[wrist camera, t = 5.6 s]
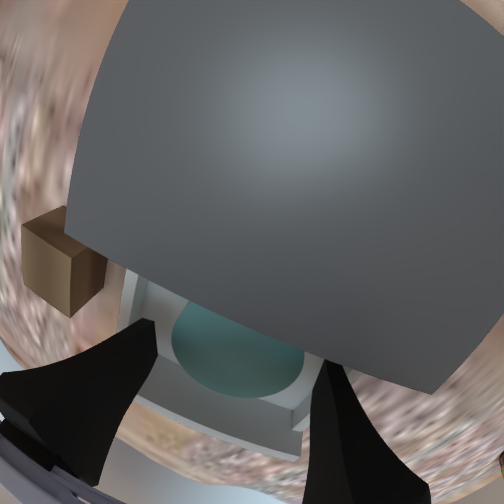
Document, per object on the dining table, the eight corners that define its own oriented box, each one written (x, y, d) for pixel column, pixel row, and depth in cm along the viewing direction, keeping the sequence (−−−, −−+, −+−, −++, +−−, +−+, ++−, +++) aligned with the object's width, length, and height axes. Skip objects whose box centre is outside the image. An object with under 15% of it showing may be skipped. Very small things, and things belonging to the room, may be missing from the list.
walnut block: (111, 232, 15) (71, 258, 12) (103, 287, 17) (70, 318, 13) (62, 205, 15) (21, 224, 12) (58, 260, 16) (23, 284, 13)
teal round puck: (295, 375, 14) (293, 405, 12) (190, 358, 15) (178, 385, 13) (314, 282, 12) (315, 310, 10) (183, 265, 13) (164, 288, 11)
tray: (399, 293, 12) (423, 346, 9) (298, 412, 16) (293, 462, 13) (164, 183, 12) (115, 206, 9) (127, 338, 16) (97, 379, 13)
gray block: (499, 123, 9) (583, 135, 4) (399, 308, 14) (431, 394, 8) (231, -16, 9) (184, -85, 4) (146, 191, 14) (64, 233, 8)
